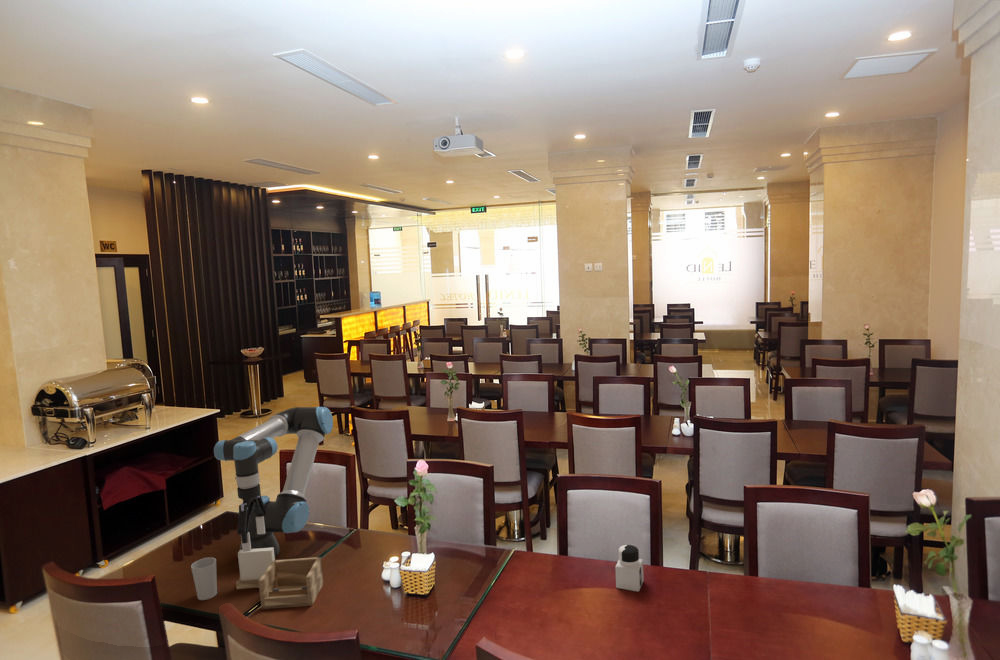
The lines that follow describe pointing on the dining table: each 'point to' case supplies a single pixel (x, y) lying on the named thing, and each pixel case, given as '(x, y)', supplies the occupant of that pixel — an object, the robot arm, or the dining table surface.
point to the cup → (205, 578)
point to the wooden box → (291, 583)
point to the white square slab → (255, 562)
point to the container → (629, 569)
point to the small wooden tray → (247, 584)
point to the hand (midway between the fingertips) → (254, 542)
